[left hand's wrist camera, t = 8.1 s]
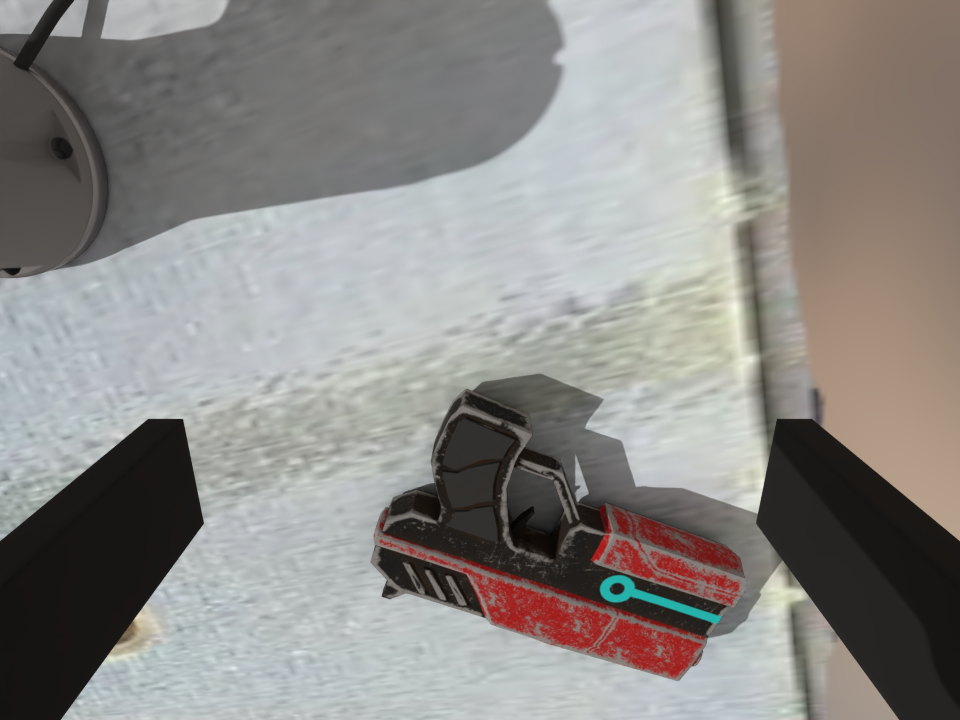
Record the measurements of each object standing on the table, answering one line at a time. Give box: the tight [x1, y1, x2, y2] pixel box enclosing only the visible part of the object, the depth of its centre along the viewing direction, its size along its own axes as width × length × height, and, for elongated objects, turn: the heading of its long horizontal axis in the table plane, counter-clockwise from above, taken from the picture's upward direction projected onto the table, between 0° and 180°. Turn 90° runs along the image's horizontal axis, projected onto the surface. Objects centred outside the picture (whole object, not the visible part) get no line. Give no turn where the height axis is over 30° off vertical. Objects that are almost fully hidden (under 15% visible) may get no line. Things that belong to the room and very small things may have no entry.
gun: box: [371, 389, 747, 681], centre depth 48 cm, size 4×31×19 cm
